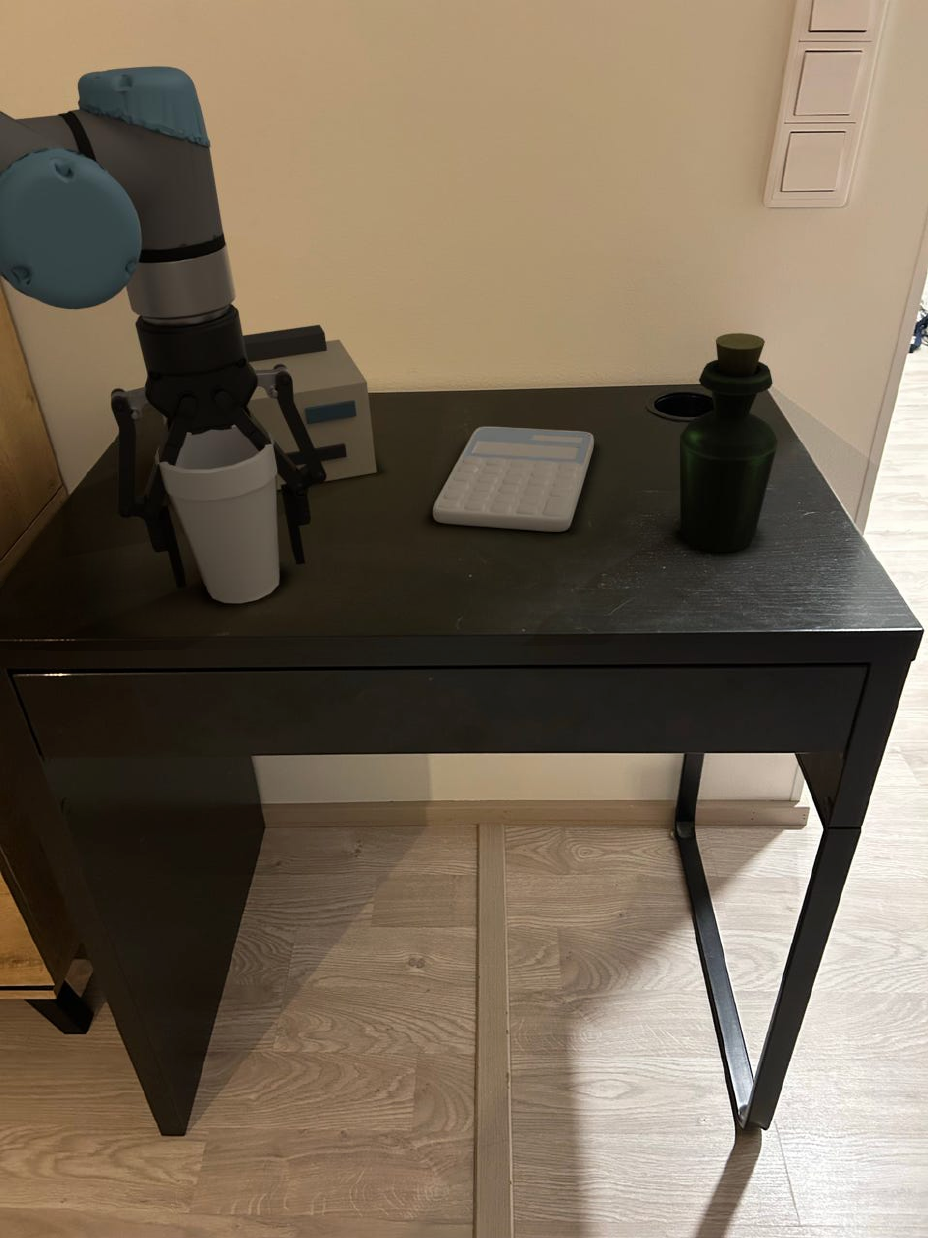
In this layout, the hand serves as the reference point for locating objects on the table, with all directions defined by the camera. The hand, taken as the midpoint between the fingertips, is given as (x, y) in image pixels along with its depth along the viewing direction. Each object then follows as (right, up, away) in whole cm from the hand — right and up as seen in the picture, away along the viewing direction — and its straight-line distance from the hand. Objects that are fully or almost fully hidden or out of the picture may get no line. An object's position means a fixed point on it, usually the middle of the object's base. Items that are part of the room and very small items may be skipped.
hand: (240, 568), depth 83 cm
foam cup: (0, -1, +1) cm, 2 cm away
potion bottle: (+42, +3, +4) cm, 43 cm away
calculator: (+25, +9, +15) cm, 30 cm away
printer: (-1, +13, +21) cm, 25 cm away
